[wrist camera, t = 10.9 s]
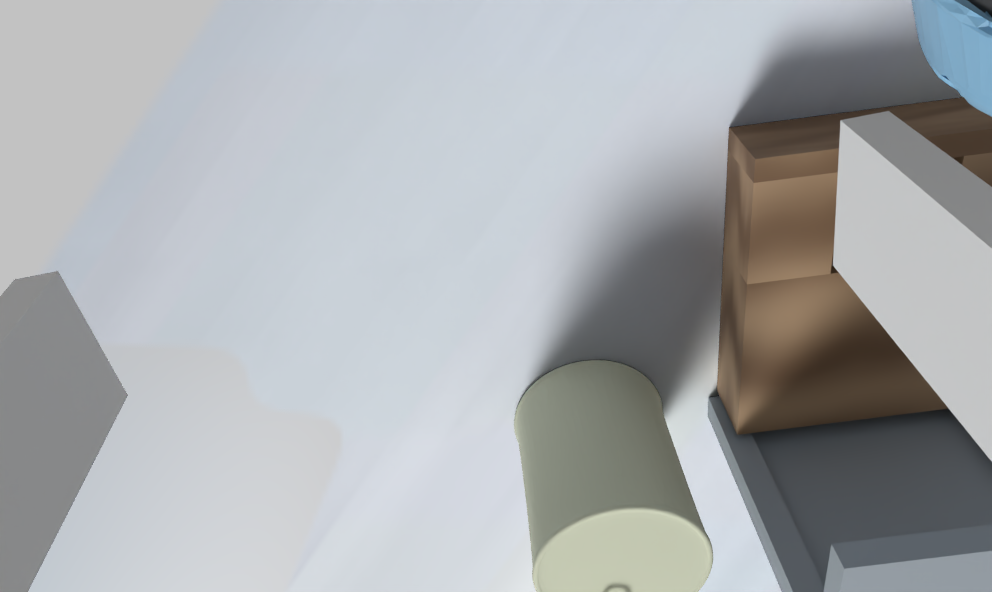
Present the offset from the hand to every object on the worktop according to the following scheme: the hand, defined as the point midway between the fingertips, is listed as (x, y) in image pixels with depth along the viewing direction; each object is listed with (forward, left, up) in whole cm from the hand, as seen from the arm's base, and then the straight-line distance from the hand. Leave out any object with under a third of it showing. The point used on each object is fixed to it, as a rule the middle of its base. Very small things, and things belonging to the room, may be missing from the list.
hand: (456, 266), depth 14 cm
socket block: (+18, +20, -26) cm, 37 cm away
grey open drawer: (+24, +20, -26) cm, 41 cm away
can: (+27, +5, -26) cm, 38 cm away
